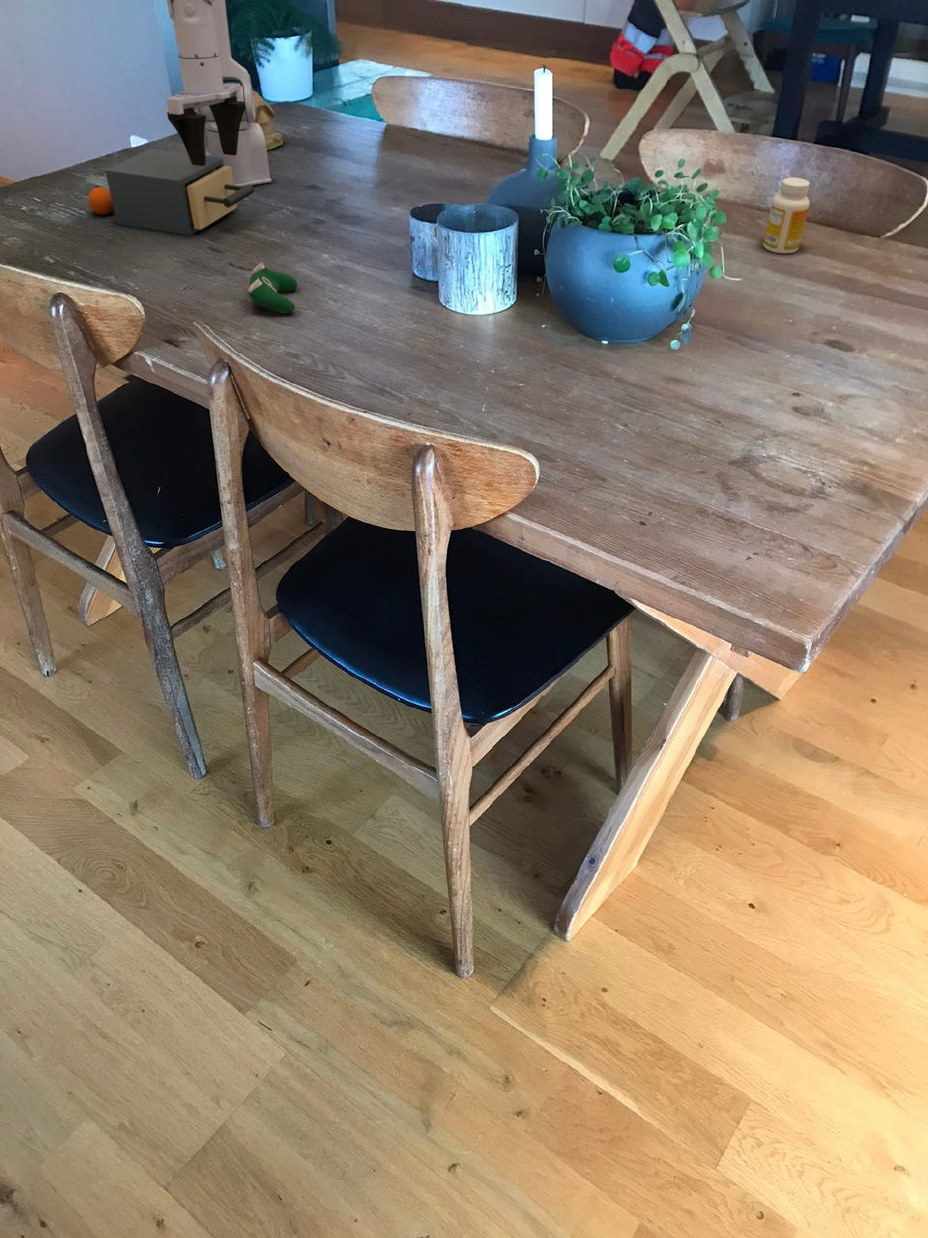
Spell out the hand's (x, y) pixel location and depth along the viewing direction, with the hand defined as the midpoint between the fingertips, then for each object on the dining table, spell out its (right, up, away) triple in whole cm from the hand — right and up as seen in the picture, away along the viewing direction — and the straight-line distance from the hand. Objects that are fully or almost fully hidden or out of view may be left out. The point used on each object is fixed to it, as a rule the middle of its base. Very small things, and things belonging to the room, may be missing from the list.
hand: (214, 159), depth 141 cm
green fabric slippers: (+12, -27, -14) cm, 32 cm away
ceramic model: (-3, +23, +41) cm, 47 cm away
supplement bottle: (+87, -13, +3) cm, 88 cm away
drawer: (-5, -5, +8) cm, 10 cm away
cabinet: (-9, -5, +10) cm, 14 cm away
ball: (-21, -2, +9) cm, 23 cm away
